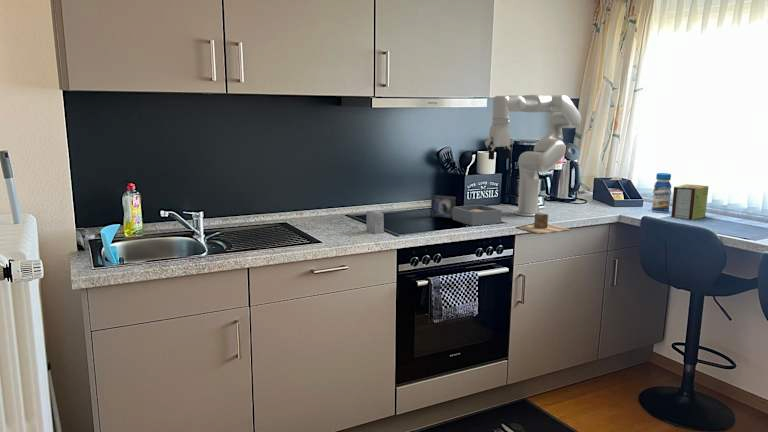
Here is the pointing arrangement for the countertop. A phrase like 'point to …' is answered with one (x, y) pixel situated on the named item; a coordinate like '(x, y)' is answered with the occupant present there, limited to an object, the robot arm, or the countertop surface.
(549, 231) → the oak lid
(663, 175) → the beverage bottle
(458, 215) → the slate bin
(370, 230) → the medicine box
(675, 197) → the protein box
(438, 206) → the small box
